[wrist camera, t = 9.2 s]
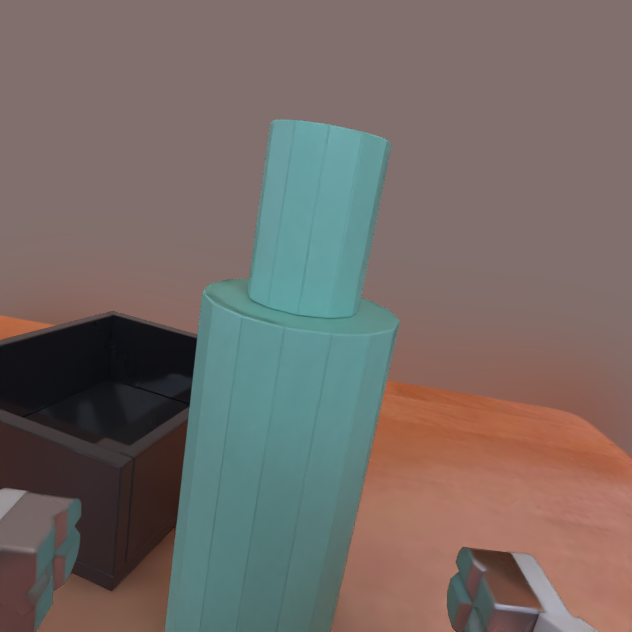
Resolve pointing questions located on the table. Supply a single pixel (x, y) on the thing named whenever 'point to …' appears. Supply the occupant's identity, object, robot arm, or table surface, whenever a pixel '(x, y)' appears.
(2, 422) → the dark open tray box
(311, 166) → the bottle
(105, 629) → the table surface
